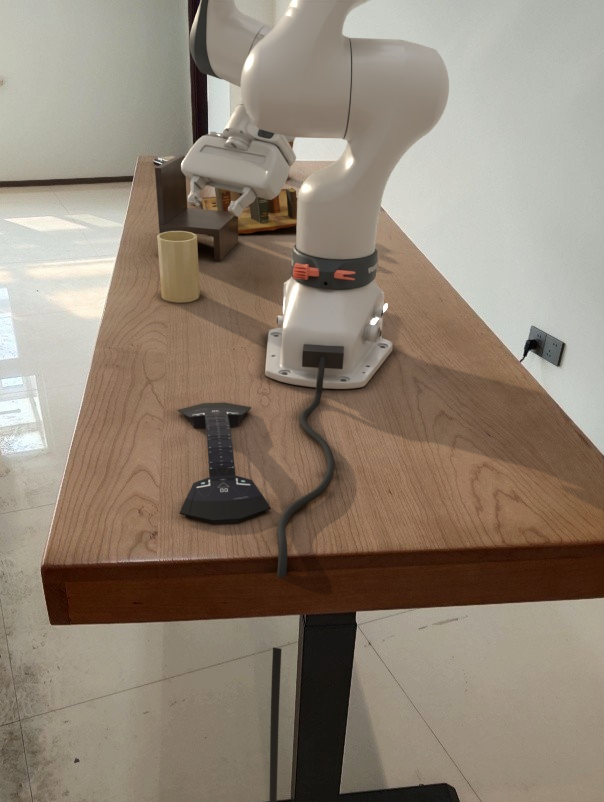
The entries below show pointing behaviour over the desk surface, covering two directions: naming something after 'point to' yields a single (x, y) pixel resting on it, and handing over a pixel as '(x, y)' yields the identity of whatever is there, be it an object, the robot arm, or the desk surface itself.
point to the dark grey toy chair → (191, 210)
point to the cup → (178, 266)
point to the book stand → (258, 210)
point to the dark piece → (221, 470)
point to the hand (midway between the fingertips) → (211, 208)
